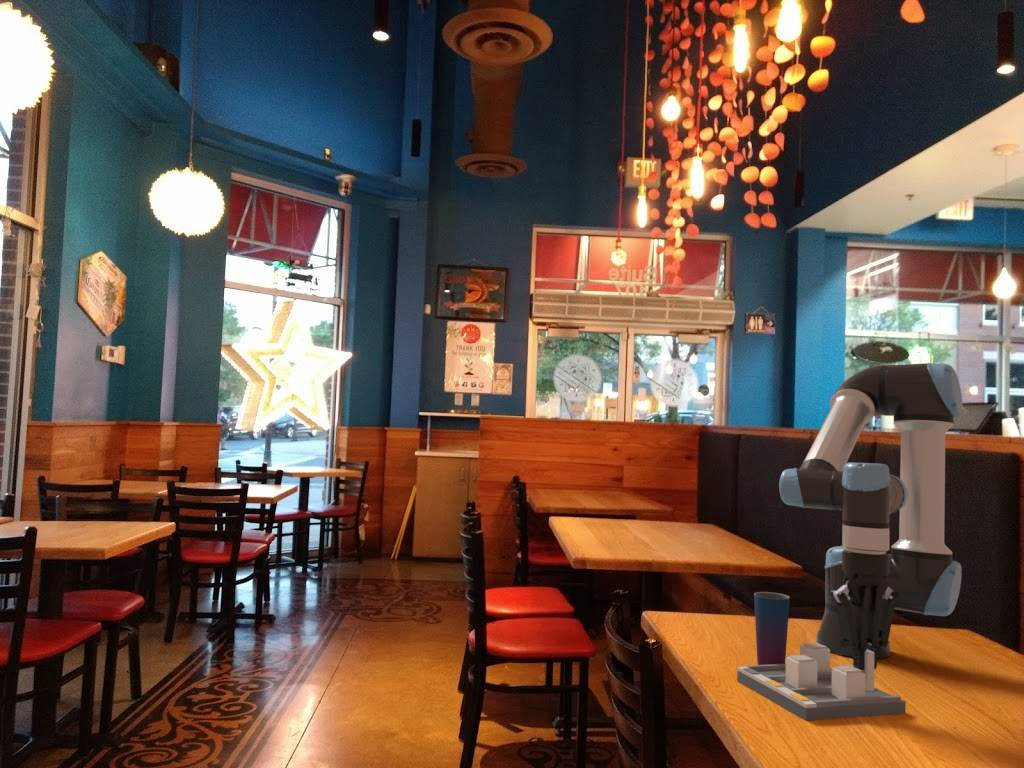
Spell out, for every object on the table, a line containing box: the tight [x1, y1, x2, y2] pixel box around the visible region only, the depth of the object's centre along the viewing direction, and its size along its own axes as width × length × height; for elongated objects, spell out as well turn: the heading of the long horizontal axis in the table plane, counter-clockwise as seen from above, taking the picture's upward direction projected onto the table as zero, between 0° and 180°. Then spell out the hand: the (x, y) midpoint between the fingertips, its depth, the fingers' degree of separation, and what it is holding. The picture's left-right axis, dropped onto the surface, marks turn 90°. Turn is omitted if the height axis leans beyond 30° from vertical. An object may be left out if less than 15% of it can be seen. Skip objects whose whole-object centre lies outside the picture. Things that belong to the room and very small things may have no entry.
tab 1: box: [799, 642, 831, 673], centre depth 142 cm, size 4×4×5 cm
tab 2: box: [831, 665, 866, 699], centre depth 127 cm, size 4×4×5 cm
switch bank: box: [736, 663, 907, 722], centre depth 133 cm, size 20×20×3 cm
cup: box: [753, 591, 791, 665], centre depth 147 cm, size 7×7×15 cm
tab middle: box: [785, 654, 817, 688], centre depth 133 cm, size 4×4×5 cm
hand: (864, 688), depth 128 cm, fingers closed
